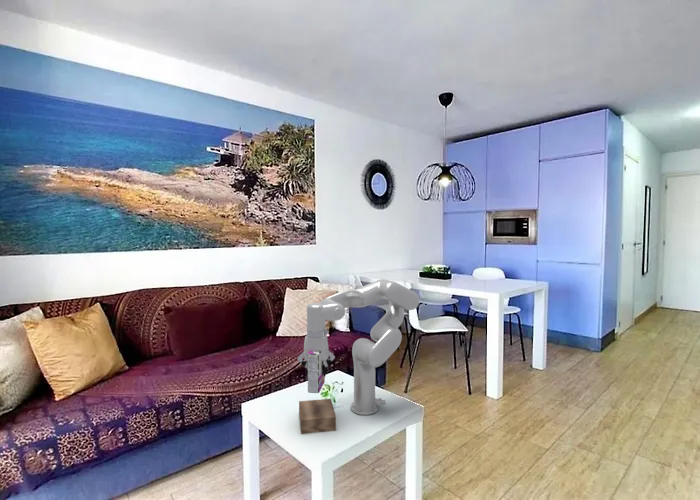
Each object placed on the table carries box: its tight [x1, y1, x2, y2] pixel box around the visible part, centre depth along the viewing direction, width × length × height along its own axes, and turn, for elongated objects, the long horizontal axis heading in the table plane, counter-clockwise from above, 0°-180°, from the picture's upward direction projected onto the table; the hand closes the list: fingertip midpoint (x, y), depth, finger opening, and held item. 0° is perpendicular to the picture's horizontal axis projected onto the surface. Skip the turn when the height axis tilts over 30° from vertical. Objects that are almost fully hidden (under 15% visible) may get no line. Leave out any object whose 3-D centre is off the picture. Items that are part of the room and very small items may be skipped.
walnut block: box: [298, 398, 337, 435], centre depth 156 cm, size 14×16×6 cm
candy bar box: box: [307, 351, 326, 394], centre depth 155 cm, size 11×5×16 cm, turn 171°
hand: (316, 375), depth 155 cm, fingers closed on candy bar box, 6 cm apart
